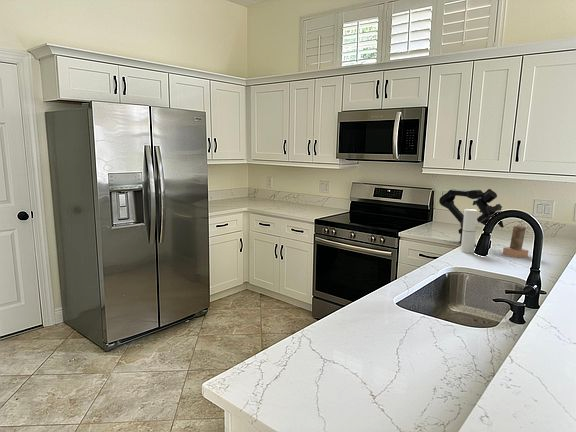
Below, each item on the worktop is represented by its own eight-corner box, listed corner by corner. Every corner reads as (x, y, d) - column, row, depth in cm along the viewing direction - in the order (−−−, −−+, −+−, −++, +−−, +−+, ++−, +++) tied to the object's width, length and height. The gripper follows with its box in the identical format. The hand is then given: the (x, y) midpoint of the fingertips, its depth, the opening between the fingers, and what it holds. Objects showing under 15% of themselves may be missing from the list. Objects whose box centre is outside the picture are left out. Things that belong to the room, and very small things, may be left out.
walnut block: (509, 247, 234) (513, 226, 230) (513, 246, 236) (517, 225, 232) (517, 250, 230) (521, 228, 226) (521, 248, 232) (525, 227, 229)
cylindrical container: (460, 251, 239) (463, 210, 235) (461, 249, 245) (464, 208, 241) (473, 253, 235) (477, 211, 232) (474, 251, 242) (478, 209, 238)
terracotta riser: (502, 254, 236) (503, 247, 236) (514, 253, 239) (515, 246, 239) (515, 258, 228) (516, 251, 227) (527, 257, 231) (528, 250, 230)
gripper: (483, 201, 240) (498, 223, 233) (503, 198, 249) (517, 219, 242) (470, 211, 249) (484, 233, 242) (489, 208, 257) (503, 228, 251)
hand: (498, 228), depth 244 cm, fingers open, 9 cm apart
